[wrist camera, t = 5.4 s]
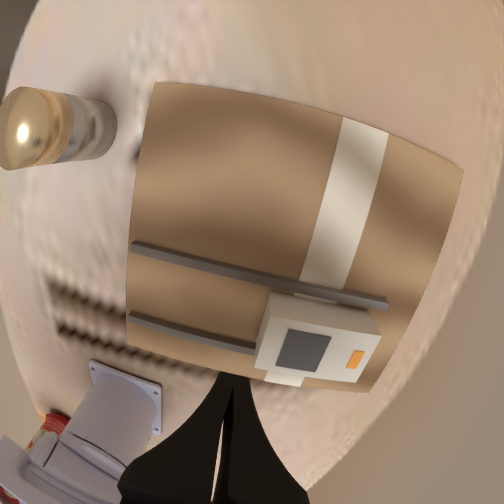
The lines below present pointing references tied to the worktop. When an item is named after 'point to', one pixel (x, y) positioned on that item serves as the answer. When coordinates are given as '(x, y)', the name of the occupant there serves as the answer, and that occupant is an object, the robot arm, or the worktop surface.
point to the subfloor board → (275, 225)
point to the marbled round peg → (52, 128)
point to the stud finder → (314, 339)
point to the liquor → (51, 424)
